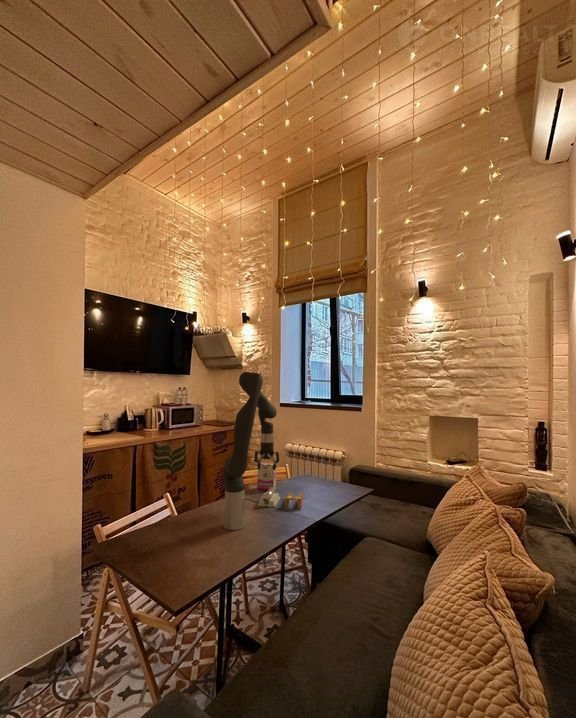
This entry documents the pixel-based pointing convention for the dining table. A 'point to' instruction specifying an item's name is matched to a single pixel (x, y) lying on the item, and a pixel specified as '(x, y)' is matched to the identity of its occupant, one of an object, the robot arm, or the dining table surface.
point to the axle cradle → (272, 501)
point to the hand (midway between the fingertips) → (266, 469)
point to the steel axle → (269, 494)
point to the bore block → (298, 498)
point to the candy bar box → (266, 476)
